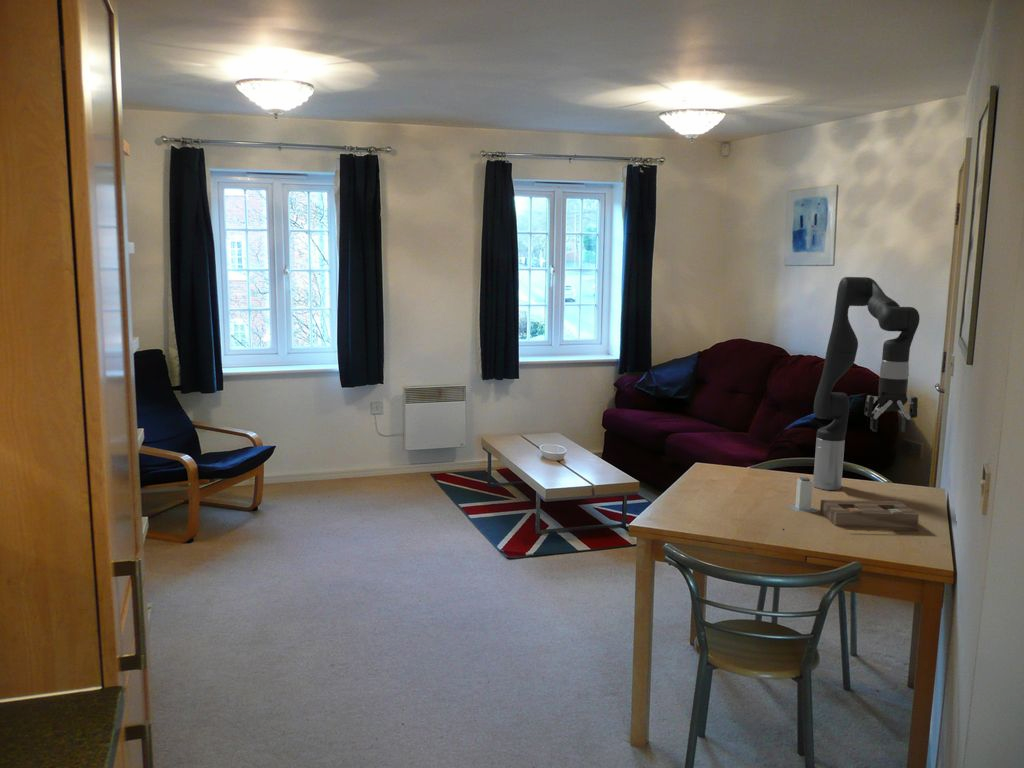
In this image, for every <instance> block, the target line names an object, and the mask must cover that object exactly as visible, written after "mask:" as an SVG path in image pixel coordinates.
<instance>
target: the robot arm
mask: <svg viewBox="0 0 1024 768" xmlns="http://www.w3.org/2000/svg"><path fill="white" fill-rule="evenodd" d="M850 307H867V310H868V312H869V314H870V315H871V316H872V317H873V318H875V319H876V320H877V322H878V325H879V328H880V329H881V330H883V331H886V332H900V334H899V335H898V336H897V337H895V338H891V339H888V340H885V341H884V342H883V346H882V357H881V363H880V370H879V380H878V394H877V396H876V395H874V396H873V395H870V394H868V395H867V396H866V399H865V404H864V412H863V415H864V416H866V417H869V418H870V423H869V428H870V430H871V431H872V432H873V433H874V432H876V433H877V432H878V426H879V425H878V424H879V419H878V418H879V417H880V416H881V415H883V413H884V412H899V413H900V415H901V416H902V419H901V427H900V428H901V429H900V431H901V432H902V433H907V432H908V431H909V429H910V422H911V420H912V419H913V418H914V419H915V418H918V402H919V401H918V400H919V399H918V397H916V396H913V395H910V396H907V392H908V384H909V383H908V382H909V376H910V365H909V363H910V354H911V353H910V351H911V346H912V343H913V341H914V337H915V334H916V332H917V330H918V327H919V326H920V325H919V324H920V319H921V318H920V317H921V316H920V313H919V311H918V309H917V308H915V307H912V306H900V304H899V303H898V302H897V301H896V300H894V299H892V298H891V297H889V296H888V295H886V294H885V292H884V291H883V289H882V288H881V286H880V285H879V284H878V282H877V281H875V279H873V278H871V277H867V276H861V277H860V276H845V277H842V278H841V279H840V281H839V284H838V287H837V291H836V299H835V307H834V315H833V320H832V321H833V322H832V326H831V331H830V334H829V337H828V338H829V339H828V341H827V342H828V343H827V348H826V352H825V357H824V358H825V359H824V363H823V368H822V373H821V376H820V381H819V382H818V383H819V384H818V387H817V390H816V394H815V397H814V401H813V413H814V416H815V418H817V419H820V420H832V422H831V423H829V424H828V425H825V426H822V427H819V428H818V429H817V431H816V438H815V439H816V441H815V453H814V468H813V478H812V479H813V480H812V482H813V484H812V487H815V488H817V489H819V490H820V489H821V490H827V491H838V490H840V489H842V480H843V468H844V466H843V465H844V454H845V442H846V440H845V439H846V433H847V428H848V421H849V414H850V413H849V412H850V399H849V396H848V394H847V393H845V392H833V388H834V387H835V385H836V383H837V382H838V381H839V380H840V379H841V378H842V377H843V376H844V375H845V374H846V373H847V372H848V371H849V370H850V369H851V368H852V366H853V365H854V363H855V362H856V357H857V352H858V348H859V340H858V338H857V335H856V333H855V331H854V329H853V327H852V325H851V322H850V320H849V309H850ZM876 401H877V405H876V406H875V408H874V410H873V407H874V404H875V403H876ZM906 403H908V404H909V406H908V407H909V409H908V410H909V411H908V410H907V408H906V407H905V405H906Z"/></svg>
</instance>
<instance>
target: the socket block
mask: <svg viewBox="0 0 1024 768" xmlns="http://www.w3.org/2000/svg"><path fill="white" fill-rule="evenodd" d="M819 513H820V514H821V515H822V516H823V517H824V518H826V519H827V520H828V521H829V522H830V523H831V524H832V525H834V526H835V527H869V528H870V527H872V528H876V527H877V528H878V527H879V528H890V529H892V530H893V531H907V532H908V531H910V532H913V531H914V532H916V531H917V532H918V528H919V516H920V513H917V512H916V511H914V510H913V509H911V508H910V507H908V506H907V505H905V504H904V503H903V502H901V501H897V500H895V501H892V500H854V499H853V500H852V499H851V500H850V499H849V500H848V499H847V500H846V499H820V510H819Z"/></svg>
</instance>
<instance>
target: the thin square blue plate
mask: <svg viewBox="0 0 1024 768" xmlns="http://www.w3.org/2000/svg"><path fill="white" fill-rule="evenodd" d="M788 506H789V507H790V508H791V509H792V510H793V511H794V512H803V513H804V512H805V513H807V512H808V513H811V512H812V513H818V512H819V510H818V511H817V509H815V508H814V507H813V506H812V505H811V510H799V509H798V508H797V507H796V506H795V504H788Z"/></svg>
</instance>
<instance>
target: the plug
mask: <svg viewBox="0 0 1024 768" xmlns="http://www.w3.org/2000/svg"><path fill="white" fill-rule="evenodd" d="M796 481H797V482H796V492H795V493H796V494H795V504H794V505H795V506H796V507H797V508H798V509H799V510H811V506H812V495H813V480H811V479H810V478H809V477H806V476H805V477H803V476H801V477H799V478H797V479H796Z"/></svg>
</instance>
